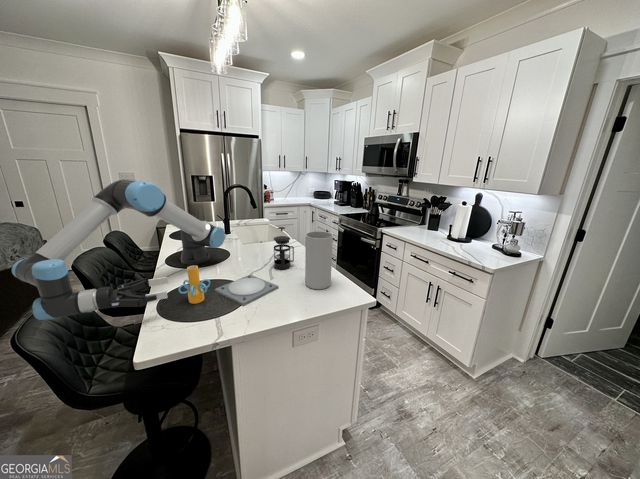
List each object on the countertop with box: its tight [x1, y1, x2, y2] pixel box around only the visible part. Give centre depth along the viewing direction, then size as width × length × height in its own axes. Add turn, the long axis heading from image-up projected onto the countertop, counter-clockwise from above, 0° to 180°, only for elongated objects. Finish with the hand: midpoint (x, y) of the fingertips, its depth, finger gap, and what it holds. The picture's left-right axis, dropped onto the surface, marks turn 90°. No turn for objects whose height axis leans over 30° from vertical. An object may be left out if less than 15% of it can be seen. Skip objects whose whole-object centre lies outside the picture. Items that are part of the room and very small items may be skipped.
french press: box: [273, 226, 295, 271], centre depth 141 cm, size 12×9×23 cm
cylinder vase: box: [304, 230, 334, 290], centre depth 121 cm, size 12×12×25 cm
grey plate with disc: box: [214, 274, 279, 307], centre depth 117 cm, size 20×20×2 cm
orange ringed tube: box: [177, 264, 211, 305], centre depth 105 cm, size 12×10×15 cm
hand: (167, 286), depth 100 cm, fingers open, 13 cm apart
